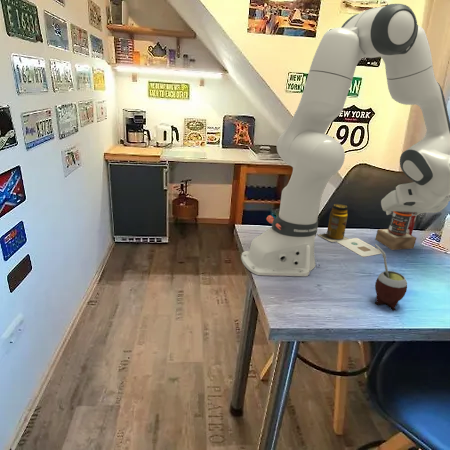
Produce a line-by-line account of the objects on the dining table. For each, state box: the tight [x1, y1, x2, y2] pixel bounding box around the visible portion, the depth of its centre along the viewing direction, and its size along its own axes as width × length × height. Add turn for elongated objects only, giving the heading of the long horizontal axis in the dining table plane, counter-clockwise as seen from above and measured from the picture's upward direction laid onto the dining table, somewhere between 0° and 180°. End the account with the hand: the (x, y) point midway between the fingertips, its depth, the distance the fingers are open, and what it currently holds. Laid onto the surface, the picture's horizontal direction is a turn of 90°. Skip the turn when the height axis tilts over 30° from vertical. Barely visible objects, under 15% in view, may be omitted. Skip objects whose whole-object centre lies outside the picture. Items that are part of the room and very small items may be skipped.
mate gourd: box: [374, 243, 408, 312], centre depth 86 cm, size 8×8×15 cm
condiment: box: [318, 203, 350, 243], centre depth 126 cm, size 7×8×12 cm
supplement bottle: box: [387, 211, 412, 236], centre depth 123 cm, size 6×6×11 cm
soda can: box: [407, 215, 418, 236], centre depth 133 cm, size 7×7×12 cm
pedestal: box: [374, 228, 417, 251], centre depth 125 cm, size 9×9×4 cm
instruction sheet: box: [335, 237, 386, 258], centre depth 121 cm, size 10×13×1 cm
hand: (400, 213), depth 123 cm, fingers open, 8 cm apart
